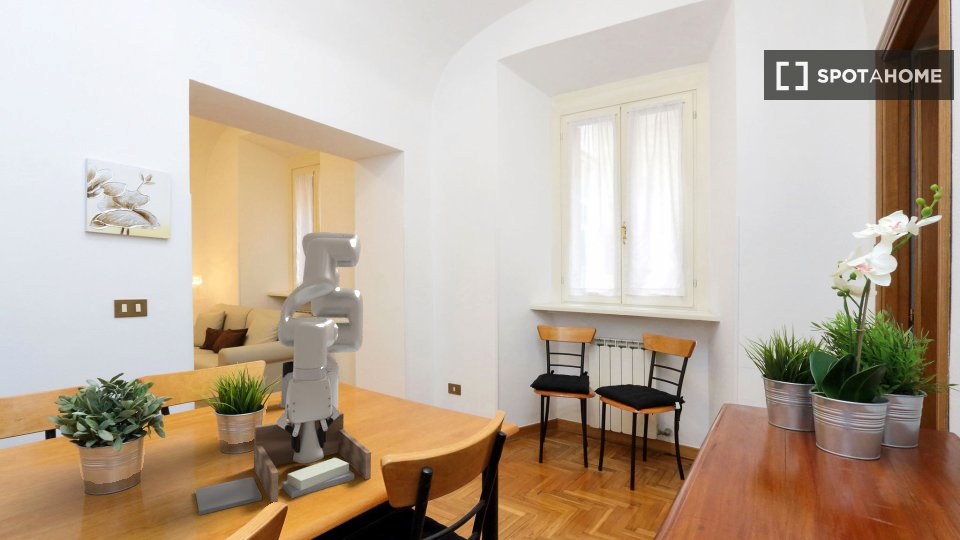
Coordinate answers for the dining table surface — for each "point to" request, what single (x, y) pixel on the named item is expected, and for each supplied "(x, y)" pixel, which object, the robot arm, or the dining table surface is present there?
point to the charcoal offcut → (317, 485)
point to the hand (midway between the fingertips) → (308, 447)
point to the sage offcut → (317, 473)
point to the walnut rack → (277, 450)
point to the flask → (308, 445)
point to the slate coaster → (227, 495)
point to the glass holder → (286, 381)
